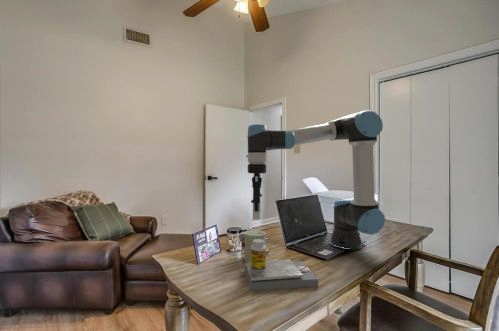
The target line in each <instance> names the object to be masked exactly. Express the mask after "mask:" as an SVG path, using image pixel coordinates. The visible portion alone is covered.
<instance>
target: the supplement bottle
mask: <svg viewBox="0 0 499 331" xmlns="http://www.w3.org/2000/svg"><path fill="white" fill-rule="evenodd" d="M266 261H267V246H266V244H265V245H264V240H262V239H255V240H253V245H252V246H251V254H250V268H251V270H253V271H255V272H261V271H264V270H265V269H266Z"/></svg>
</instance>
